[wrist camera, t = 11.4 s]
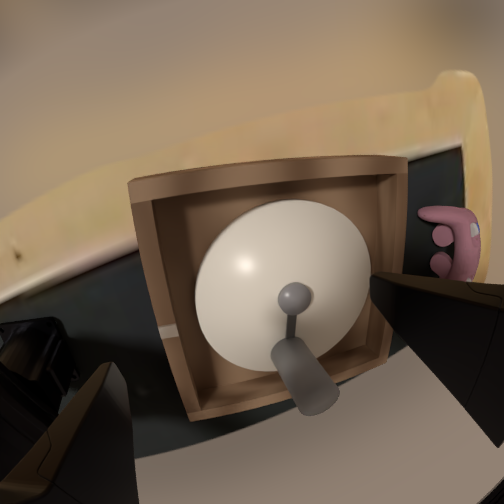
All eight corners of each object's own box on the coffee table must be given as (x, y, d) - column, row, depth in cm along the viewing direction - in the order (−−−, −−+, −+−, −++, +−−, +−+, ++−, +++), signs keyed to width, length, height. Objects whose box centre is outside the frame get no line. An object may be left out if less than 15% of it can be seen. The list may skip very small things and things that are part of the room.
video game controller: (421, 280, 31) (473, 293, 26) (408, 297, 28) (467, 313, 23) (426, 198, 28) (485, 206, 23) (414, 206, 25) (482, 217, 20)
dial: (189, 201, 19) (201, 227, 12) (371, 199, 22) (437, 220, 16) (201, 373, 23) (217, 440, 17) (348, 346, 27) (391, 392, 20)
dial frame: (185, 394, 25) (190, 423, 22) (134, 178, 18) (126, 183, 15) (368, 344, 29) (387, 363, 26) (379, 154, 23) (409, 157, 19)
